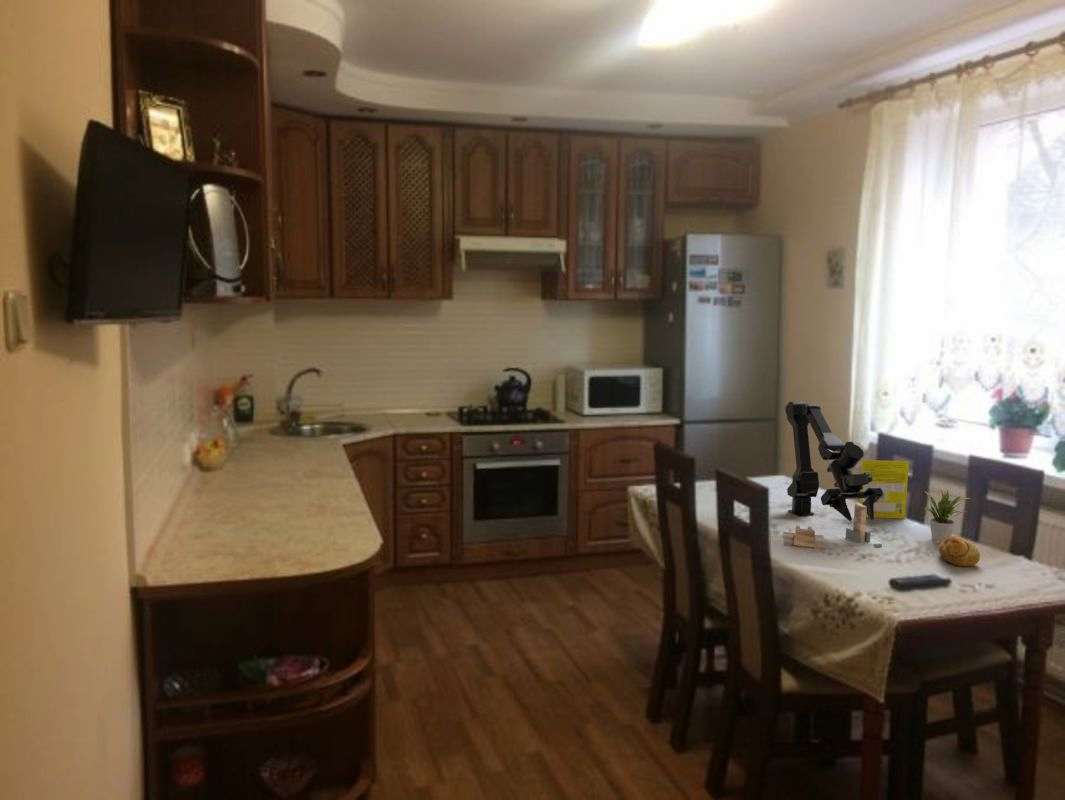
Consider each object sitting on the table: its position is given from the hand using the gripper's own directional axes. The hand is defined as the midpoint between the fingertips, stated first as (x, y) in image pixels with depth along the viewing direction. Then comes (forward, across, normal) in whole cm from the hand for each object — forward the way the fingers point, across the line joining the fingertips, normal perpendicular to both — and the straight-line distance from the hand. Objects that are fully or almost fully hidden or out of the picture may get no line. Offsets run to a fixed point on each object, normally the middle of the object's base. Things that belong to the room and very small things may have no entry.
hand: (861, 519), depth 255 cm
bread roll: (+19, +18, -8) cm, 28 cm away
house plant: (+7, +28, +4) cm, 29 cm away
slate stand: (+4, 0, +6) cm, 8 cm away
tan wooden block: (+4, 0, +5) cm, 7 cm away
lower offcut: (+5, -19, +5) cm, 20 cm away
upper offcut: (+3, -19, +3) cm, 19 cm away
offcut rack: (+3, -17, +8) cm, 19 cm away
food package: (-13, +25, +24) cm, 37 cm away
